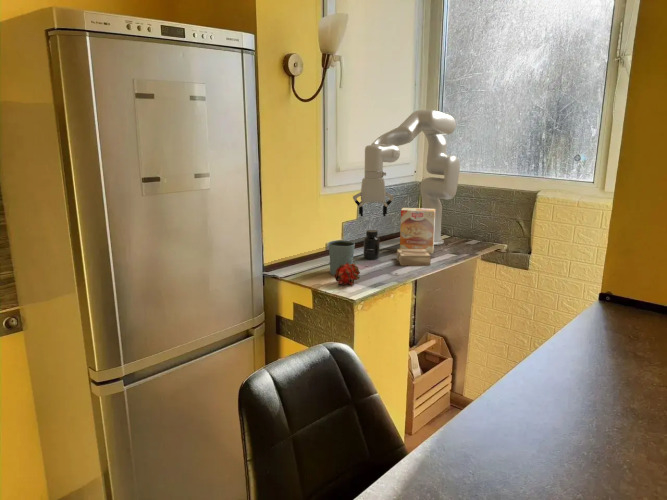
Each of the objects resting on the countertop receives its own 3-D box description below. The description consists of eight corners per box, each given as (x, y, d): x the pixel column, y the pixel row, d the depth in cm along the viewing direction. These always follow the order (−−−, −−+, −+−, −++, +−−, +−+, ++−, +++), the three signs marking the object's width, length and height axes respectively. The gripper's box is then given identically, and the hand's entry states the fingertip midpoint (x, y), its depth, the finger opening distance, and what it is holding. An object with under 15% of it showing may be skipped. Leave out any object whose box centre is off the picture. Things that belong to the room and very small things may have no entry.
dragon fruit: (359, 284, 195) (339, 296, 187) (343, 268, 198) (323, 280, 189) (368, 269, 190) (348, 281, 181) (352, 253, 192) (332, 265, 184)
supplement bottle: (368, 260, 222) (368, 233, 219) (360, 257, 228) (360, 230, 225) (382, 258, 225) (382, 231, 222) (374, 255, 231) (374, 228, 228)
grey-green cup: (325, 270, 208) (325, 241, 205) (348, 268, 211) (348, 239, 208) (334, 277, 198) (334, 246, 195) (358, 274, 202) (358, 244, 199)
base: (396, 258, 226) (397, 248, 225) (424, 257, 226) (424, 248, 225) (401, 265, 214) (401, 255, 213) (430, 265, 215) (430, 255, 214)
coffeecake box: (399, 252, 236) (400, 209, 232) (401, 248, 243) (402, 207, 238) (433, 254, 233) (434, 210, 228) (433, 250, 240) (435, 208, 235)
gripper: (392, 174, 222) (391, 214, 226) (352, 174, 221) (351, 214, 225) (395, 176, 214) (394, 217, 218) (353, 176, 214) (353, 217, 218)
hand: (372, 215), depth 222 cm, fingers open, 9 cm apart
